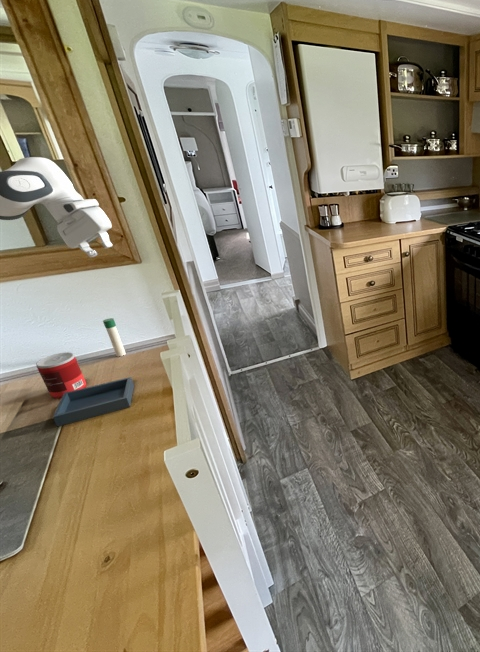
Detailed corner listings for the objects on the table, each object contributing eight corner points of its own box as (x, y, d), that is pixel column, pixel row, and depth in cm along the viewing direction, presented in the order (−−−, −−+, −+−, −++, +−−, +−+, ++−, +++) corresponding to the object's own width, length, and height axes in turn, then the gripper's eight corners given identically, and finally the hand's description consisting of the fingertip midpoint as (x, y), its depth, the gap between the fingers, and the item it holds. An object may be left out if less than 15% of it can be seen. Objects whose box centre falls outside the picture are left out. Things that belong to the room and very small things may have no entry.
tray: (57, 426, 97) (52, 417, 96) (68, 401, 107) (63, 392, 106) (130, 407, 105) (126, 397, 104) (134, 385, 115) (131, 376, 114)
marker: (115, 357, 130) (102, 322, 125) (116, 354, 132) (103, 319, 127) (125, 355, 131) (113, 320, 126) (126, 352, 133) (114, 317, 128)
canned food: (88, 380, 117) (75, 349, 113) (86, 392, 111) (72, 360, 107) (53, 389, 112) (38, 357, 108) (49, 402, 106) (33, 369, 102)
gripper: (43, 224, 117) (74, 264, 121) (74, 201, 109) (107, 244, 113) (67, 219, 122) (96, 258, 127) (98, 197, 115) (128, 239, 119)
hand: (101, 251), depth 120 cm, fingers open, 8 cm apart
